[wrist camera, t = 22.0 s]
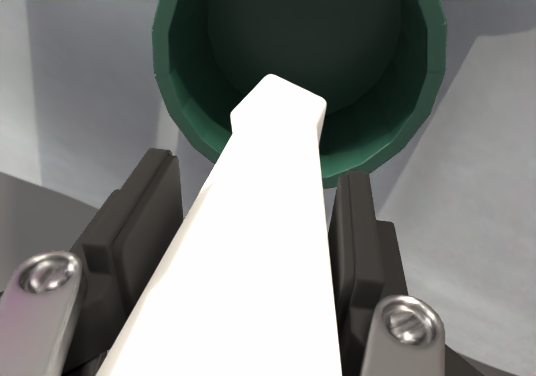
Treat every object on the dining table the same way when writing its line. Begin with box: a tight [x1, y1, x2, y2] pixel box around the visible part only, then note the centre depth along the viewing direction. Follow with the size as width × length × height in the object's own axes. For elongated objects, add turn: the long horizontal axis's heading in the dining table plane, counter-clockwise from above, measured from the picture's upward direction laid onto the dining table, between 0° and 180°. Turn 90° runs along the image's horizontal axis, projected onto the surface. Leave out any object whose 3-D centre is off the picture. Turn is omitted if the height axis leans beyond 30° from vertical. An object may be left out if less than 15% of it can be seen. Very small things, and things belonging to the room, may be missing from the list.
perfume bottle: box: [96, 74, 342, 376], centre depth 10 cm, size 5×4×15 cm
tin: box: [152, 0, 447, 189], centre depth 23 cm, size 14×14×8 cm
